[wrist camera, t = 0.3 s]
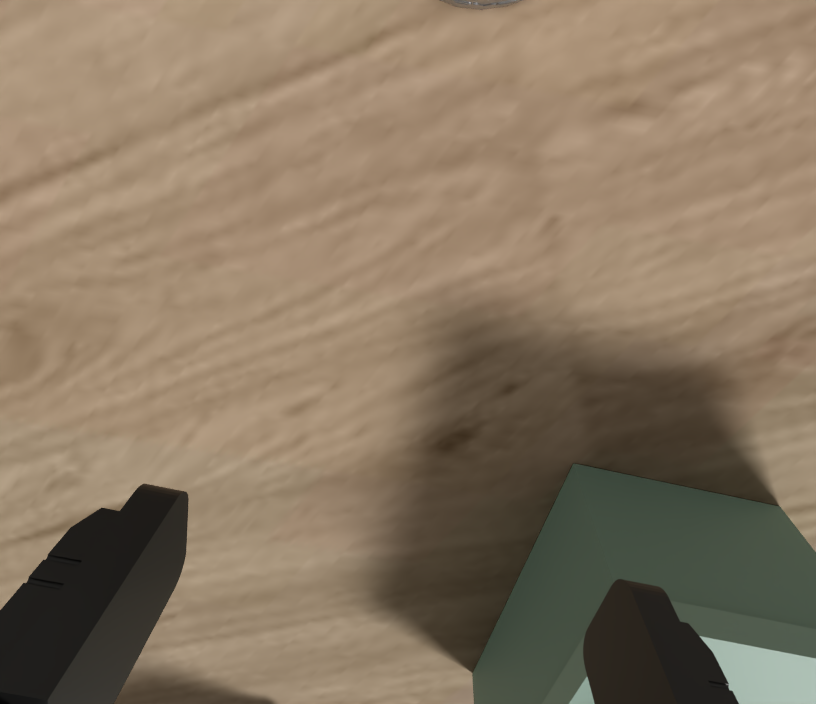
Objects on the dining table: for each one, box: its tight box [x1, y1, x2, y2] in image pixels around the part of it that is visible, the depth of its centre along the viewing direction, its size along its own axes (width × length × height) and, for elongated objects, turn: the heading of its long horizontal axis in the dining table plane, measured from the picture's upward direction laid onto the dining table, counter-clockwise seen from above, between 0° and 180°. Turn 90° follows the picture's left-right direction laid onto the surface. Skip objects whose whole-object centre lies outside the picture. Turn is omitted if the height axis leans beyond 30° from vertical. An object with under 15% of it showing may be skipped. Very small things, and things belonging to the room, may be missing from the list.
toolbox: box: [473, 463, 816, 704], centre depth 32 cm, size 22×13×9 cm, turn 168°
